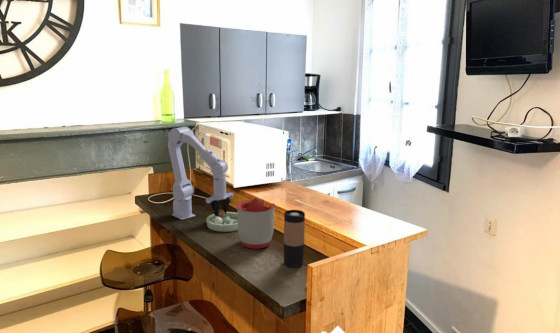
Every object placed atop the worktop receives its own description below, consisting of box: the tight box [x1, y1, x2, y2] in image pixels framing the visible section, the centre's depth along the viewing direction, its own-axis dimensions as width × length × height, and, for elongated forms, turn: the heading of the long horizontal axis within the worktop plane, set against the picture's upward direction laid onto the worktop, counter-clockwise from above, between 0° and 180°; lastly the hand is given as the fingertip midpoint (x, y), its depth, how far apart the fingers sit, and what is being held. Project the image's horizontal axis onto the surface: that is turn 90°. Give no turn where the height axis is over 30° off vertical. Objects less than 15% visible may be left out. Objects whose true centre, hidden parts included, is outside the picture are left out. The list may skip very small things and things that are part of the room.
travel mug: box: [283, 209, 306, 269], centre depth 149 cm, size 8×8×20 cm
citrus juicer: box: [236, 197, 276, 250], centre depth 167 cm, size 16×17×20 cm
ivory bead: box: [214, 217, 222, 224], centre depth 186 cm, size 4×4×4 cm
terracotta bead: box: [218, 208, 225, 218], centre depth 192 cm, size 4×4×4 cm
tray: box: [206, 211, 238, 233], centre depth 190 cm, size 18×18×3 cm
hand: (220, 214), depth 193 cm, fingers closed on terracotta bead, 4 cm apart
